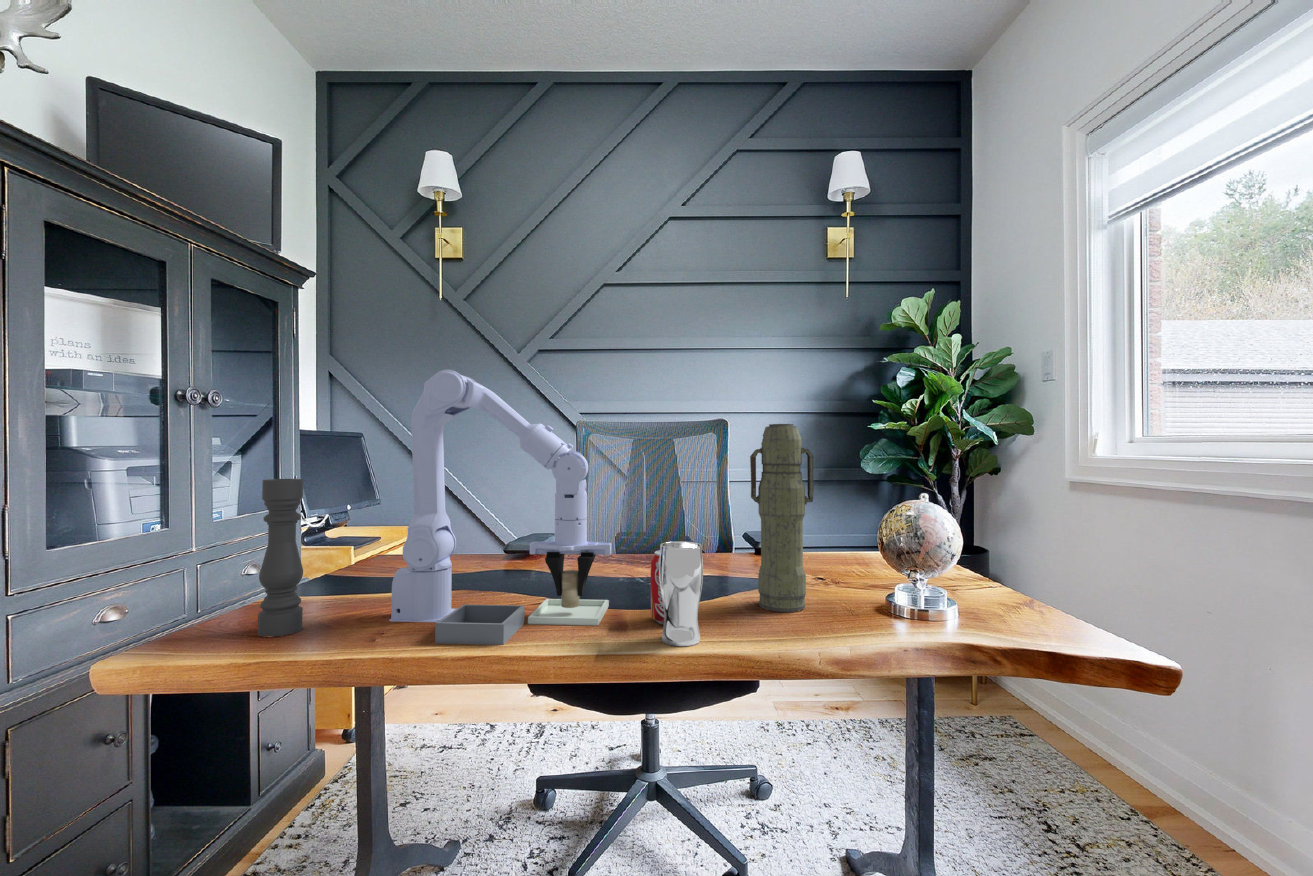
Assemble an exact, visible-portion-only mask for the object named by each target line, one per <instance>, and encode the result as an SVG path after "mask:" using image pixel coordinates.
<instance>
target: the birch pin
mask: <svg viewBox="0 0 1313 876" xmlns="http://www.w3.org/2000/svg"><path fill="white" fill-rule="evenodd" d="M578 581H579V574H578V569H567V570H563V571H562V590H561V596H560V597H561V598H560V599H561V606H562V607H564V608H575V607H578V606H579V599H581V598H580V597H581V596H578Z"/></svg>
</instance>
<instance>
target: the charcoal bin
mask: <svg viewBox="0 0 1313 876" xmlns="http://www.w3.org/2000/svg"><path fill="white" fill-rule="evenodd" d="M455 609H456V610H454V611H453V612H451V613H450V614H448V615H447V616H445V617H444V618H442V619H441V620H439V621H438V622H435V626H434V627H435V629H434V630H435V631H434V632H435V635H434V637H435V639H434V640H435V641H434V642H435V644H450V645H451V644H452V645H494V646H495V645H498V646H504V645H505V644H506V643H507V642H508V641H509V640H510V639H511V638H512V637H513V636H514V635H515V634H516V633H517V632H518V631H519V630H520V629H521V627H523V626H524V625H525V605H523V604H522V605H520V604H519V605H518V604H517V605H513V604H512V605H511V604H509V605H508V604H462V605H461V606H459V607H457V608H455Z"/></svg>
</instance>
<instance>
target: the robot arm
mask: <svg viewBox="0 0 1313 876" xmlns="http://www.w3.org/2000/svg"><path fill="white" fill-rule="evenodd" d="M423 386H424V387H423V391H422V393H421V395H420V397H419V399H418V401H417V403H416V405H415V407H414V408H413V411H412V413H411V419H410V422H411V448H412V449H411V453H412V455H411V456H412V481H413V482H412V484H413V485H412V486H413V487H412V488H413V490H412V491H413V492H412V493H413V516H412V518H411V519H410V520H411V521H410V522H409V524H408V526H407V536H406V540H405V542H404V544H403V547H402V558H403V560H404V562H405V563H406V565H407V567H400V568H399V569H398V570H396V572H395V573H394V575H393V579H392V581H391V582H392V583H391V611H390V612H391V614H390V615H391V616H390V617H391V618H390V619H389V620H388V621H389V622H397V623H398V622H401V623H402V622H403V623H405V622H407V623H408V622H409V623H436V622H438V621H439V620H441V619H442V618H444V617H445V616H447V615H448V614H450V613H451V612H453V611H454V610H456V609H457V608H452V582H453V581H452V567H453V566H452V565H453V564H452V561H451V556H453V554H454V552H455V551H456V548H457V539H456V536H455V534H454V532H453V531H452V526H451V520H450V517H449V515H448V514H447V512H446V487H445V486H446V485H445V449H444V426H445V425H446V424H447V423H448V422H449V421H451V420H452V419H453V418H454V417H455V416H456V415H458V414H460V413H463V412H465V411H467V410H470V409H473V410H478V411H482V412H485V413H486V414H487V415H488V416H490V417H491V418H493V419H494V420H496V421H497V422H498V423H500V424H501V425H502V426H503V427H505V428H506V429H507V430H508V431H510V432H511V433H513V434H514V435H516V437H518V439H519V444H520V449H522V451H524V452H525V453H526V454H527V455H528V456H530V457H531V458H532V459H534V460H535V461H537V463H538V464H540V465H541V466H542V467H544V468H545V469H546V470H551V472H552V473H551V474H552V475H553V478H554V479H555V493H554V494H555V495H554V541H532V542H530V543H529V555H538V554H540V555H543V554H545V558H544V561H545V564H546V565H547V568H548V569H549V571H550V574H551V576H552V577H551V578H552V579H553V583H554V586H555V587H554V588H555V591H556V596H557V597H561V590H562V571H564V566H565V556H566V555H579V556H578V557H577V559H576V560H577V570H578V574H579V581H578V596H580V597H583V596H584V595H585V588H586V584H587V579H588V575H589V573H590V570H591V568H592V566H593V563H594V561H595V559H596V556H597V555H603V556H610V555H611V554H612V548H613V547H612V542H600V541H588V492H587V486H588V485H587V479H585V478H586V477H587V475H588V472H589V464H588V463H589V462H588V460H587V459H586V457H585V456H583V454H582V453H581V452H579V451H576V450H573V449H574V445H573V444H571V443H569V442H568V443H566V442H565V441H564V440H563V439H561V438H560V437H559V436H557V434H555V433H554V432H553V431H554V428H553V427H552V426H550V425H544V424H543V423H533V424H531V423H530V422H529V421H527V420H526V419H525V417H523V416H522V415H521V414H520V413H518V412H517V411H516V410H515V409H513V408H512V407H511V406H510V405H509V404H508V403H507V402H505V401H504V400H503V399H502V398H501V397H499V395H497V394H496V393H495V392H494V391H492V390H491V389H489V388H487V387H486V386H484V385H482V384H481V383H478V382H476V380H475V379H473V378H472V377H469V376H466V375H462V374H460V373H459V372H457V371H455V370H453V369H443V370H440V371H437V372H436V373H435V374H434V375H432V376H431V377H429V379H427V380H426V381H425V382H424V385H423ZM572 450H573V451H572Z"/></svg>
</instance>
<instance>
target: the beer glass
mask: <svg viewBox="0 0 1313 876" xmlns="http://www.w3.org/2000/svg"><path fill="white" fill-rule="evenodd" d="M702 547H703V545H702V544H701V543H699V542H696V541H685V540H684V541H666V542H663V543H660V547H659V548H660V549H659V550H660V558H659V582H660V590H661V596H662V602H663V608H664V625H663V628H662V633H661V641H662V642H663V643H664V644H666V645H669V646H672V647H691V646H695V645H697V644H699V643H700V642H701V634H700V629H699V620H698V618H699V616H698V615H699V606H700V601H701V595H702V589H703V583H704V582H703V581H704V564H703V563H704V561H703V551H702V550H703V549H702Z"/></svg>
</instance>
